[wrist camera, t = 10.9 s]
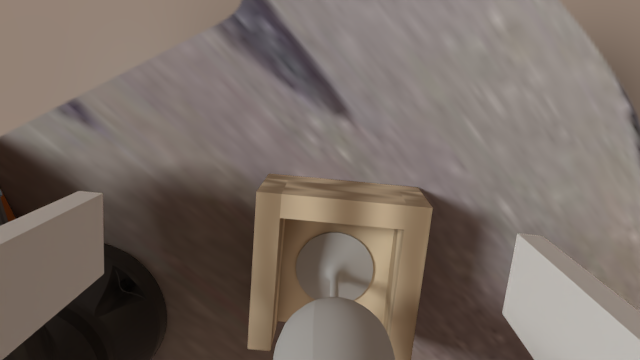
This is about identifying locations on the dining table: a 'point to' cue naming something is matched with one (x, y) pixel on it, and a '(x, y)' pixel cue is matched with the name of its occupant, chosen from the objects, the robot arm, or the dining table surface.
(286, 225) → the tan wooden open box
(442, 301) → the dining table surface
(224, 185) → the dining table surface
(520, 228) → the dining table surface
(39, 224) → the robot arm
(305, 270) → the wineglass
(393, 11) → the dining table surface
